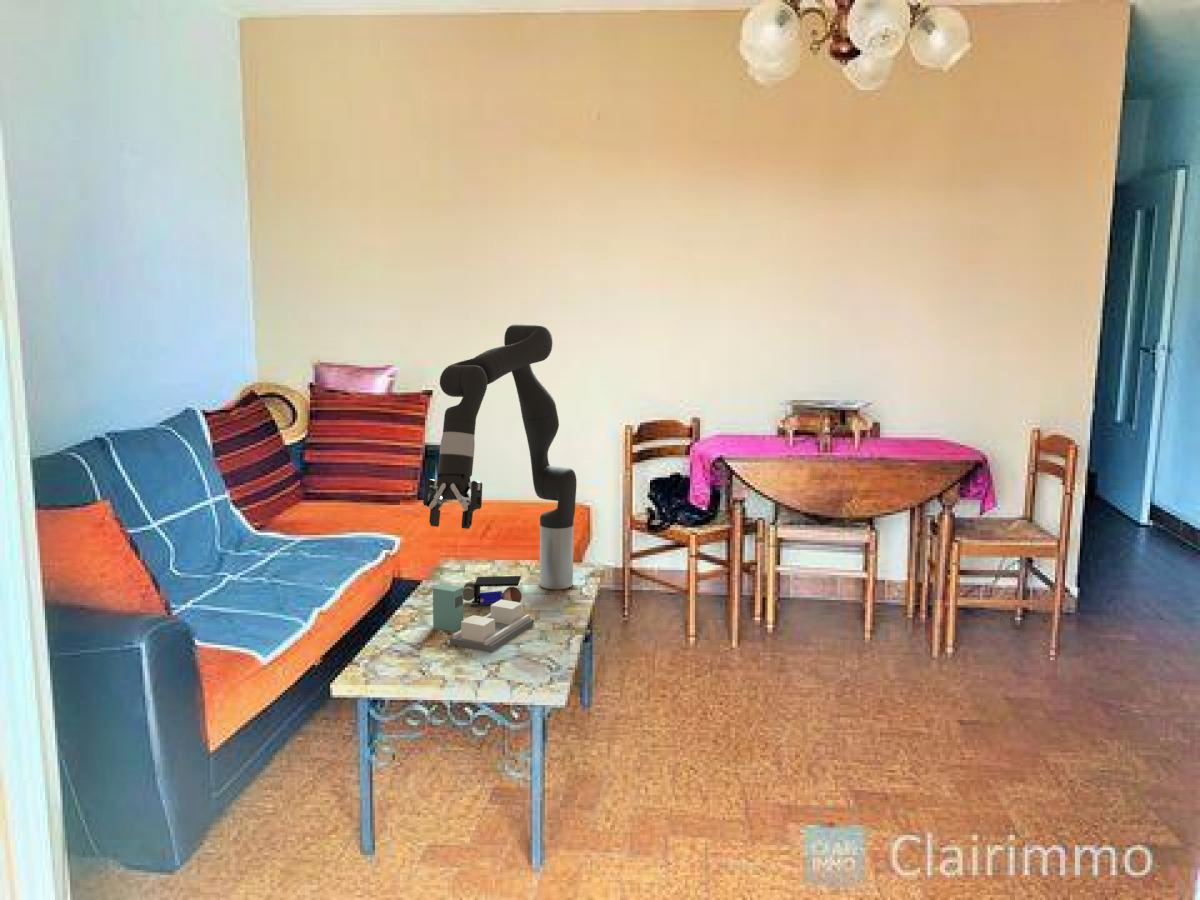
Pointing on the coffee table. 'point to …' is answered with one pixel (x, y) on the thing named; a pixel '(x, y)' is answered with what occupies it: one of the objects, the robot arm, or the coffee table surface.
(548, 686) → the coffee table surface
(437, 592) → the block
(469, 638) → the mounted blocks
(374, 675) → the coffee table surface
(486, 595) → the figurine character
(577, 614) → the coffee table surface
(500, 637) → the rail board
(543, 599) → the coffee table surface
